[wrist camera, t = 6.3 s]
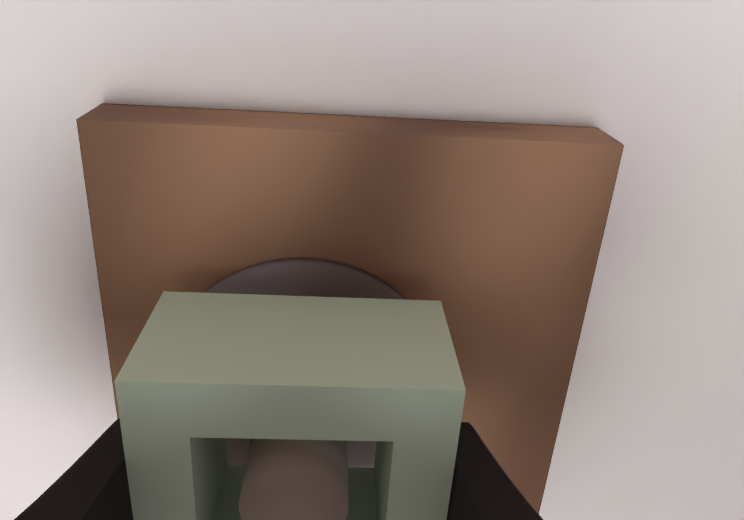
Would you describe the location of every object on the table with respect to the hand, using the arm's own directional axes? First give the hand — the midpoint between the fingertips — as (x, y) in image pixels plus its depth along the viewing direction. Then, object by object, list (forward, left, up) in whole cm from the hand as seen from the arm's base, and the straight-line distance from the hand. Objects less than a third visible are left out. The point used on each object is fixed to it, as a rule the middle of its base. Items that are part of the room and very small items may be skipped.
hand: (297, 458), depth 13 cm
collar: (0, 0, -2) cm, 2 cm away
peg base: (-1, 0, -4) cm, 4 cm away
